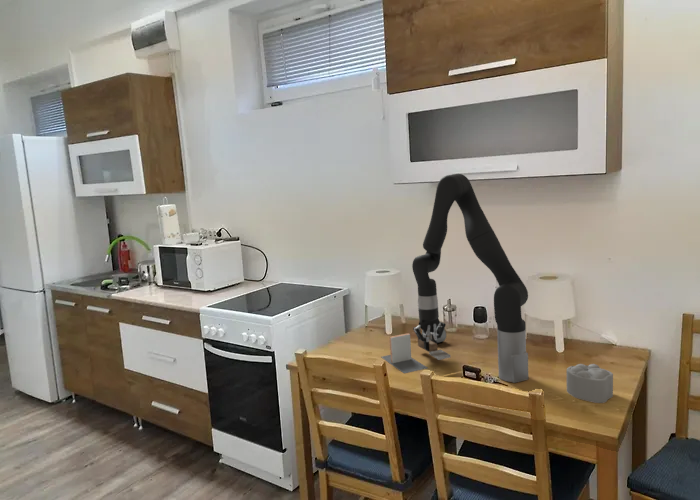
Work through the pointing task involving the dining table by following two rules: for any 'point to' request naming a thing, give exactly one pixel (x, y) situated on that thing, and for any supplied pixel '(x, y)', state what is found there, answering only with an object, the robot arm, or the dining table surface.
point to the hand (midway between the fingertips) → (430, 349)
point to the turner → (434, 350)
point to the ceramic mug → (439, 338)
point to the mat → (406, 364)
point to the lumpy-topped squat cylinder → (590, 383)
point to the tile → (400, 348)
